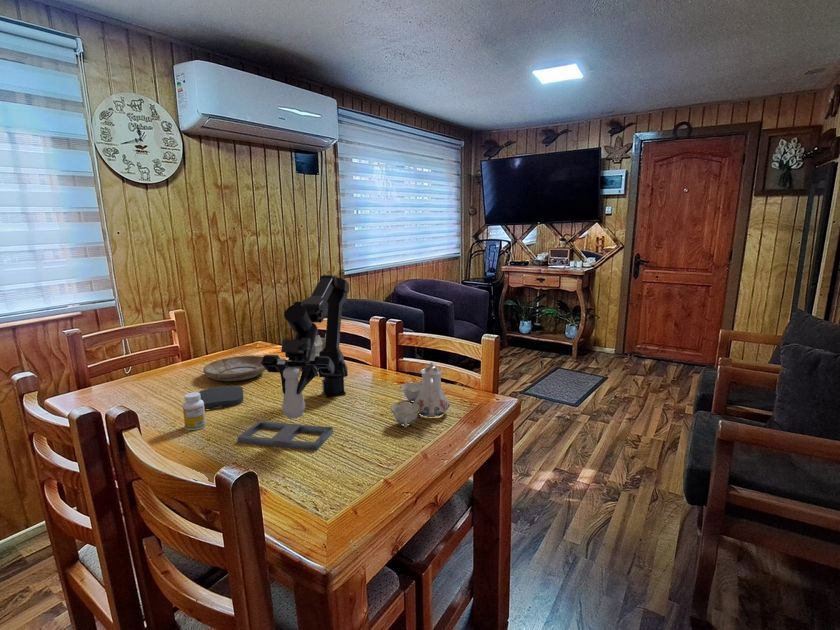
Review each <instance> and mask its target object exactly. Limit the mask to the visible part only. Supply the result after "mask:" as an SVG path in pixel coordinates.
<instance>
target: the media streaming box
mask: <svg viewBox="0 0 840 630" xmlns="http://www.w3.org/2000/svg"><path fill="white" fill-rule="evenodd" d="M243 388H244V387H242V386H238V385H221V386H214V387H209V388H206V389H204V390H202V389H201V391H200V390H199V391H198V392H199V393H200V396H201V398H200V399H201V400H203V402H204V408H205V409H211V410H217V409H216V408H219V409H224V408H225V407H226V408H231V407H235V406H236V407H237V406H238V405H242V404H243V402H244V389H243Z"/></svg>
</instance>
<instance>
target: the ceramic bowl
mask: <svg viewBox="0 0 840 630" xmlns="http://www.w3.org/2000/svg"><path fill="white" fill-rule="evenodd" d="M262 357H263V356H260V355H239V356H232V357H227V358H225V357H224V358H221V359H217V360H214V361H212V362H209V363H207V364H206V365H205V366H203V373H204V375H205V376H206V377H208V378H209V379H213V380H215V381H219V382H238V381H239V382H240V381H245V380H249V379H252V378H253V379H254V378H255V377H257V376H259V375H261V374H262V373H264V372H265V371H267V370H266V369H265V368H264V366H263V365H262V364H261V360H262Z"/></svg>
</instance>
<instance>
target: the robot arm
mask: <svg viewBox="0 0 840 630" xmlns="http://www.w3.org/2000/svg"><path fill="white" fill-rule="evenodd" d="M349 292H350V284H349V282H348V281H347V280H346V279H343V278H341V277H338V276H337V275H335V274H323V275H320V277H319V281H318V283H317V285H316V286H315V288H314V290H313V292H312V293H311V295H310V296H309V297H307V298H305V299H303V300H302V301H294V303H293V304H292V305H290V306H288V307H287V309H285V311H284V313H283V316H284V317H283V318H284V319H285V320H286V322H287V324H288V325H289V327H290V329H291V330H292V331H293V332H294V337H293V339H292V338H291V339H282V342H281V348H280V350H281V351H280V353H284V356H285V358H287V359H285V358H280V356H279V355H278V354H264V355H263V356H261V357H262V360H261V364H262V365H263V366H264V368H265V369H266V370H265V371H266V372H268V373H275V374H276V373H278V374H279V375H280V379H281V389H282V393H283V395H284V394H285V381H286V379H285V378H284V377H283V371H284V370H285V369H286V368H289V367H296V368H298V369H300V368H301V373H300V376H299V380H298V381H299V384H298V387H297V394H298V395H299V394H300V393H301V392H302V393H303V391H304V389H305V388H306V387H307V386H308V385H309V383H310V382H311V381H312V380H314V378H316V377H319V378H323V379H322V380H321V386H322V389H321V390H322V393H323V394H324V395H325V397H328V398H330V397H331V398H332V397H337V396H342V395H343V396H344V395H346V393H347V392H346V391H345V378H346V377H348V373H349V372H348V369H349V368H348V366H347V364H346V362H345V360H344V354H343V352H342V350H341V349H340V339H341V325H342V324H341V323H342V311H343V310H342V308H343V305H344V304H345V302H346V301H347V299H348V294H349ZM326 304H327V310H326V307H325V306H326ZM325 318H326V331H325V334H326V342H325V348H324V349H323V350H322V351H320V353H319V356H316V357H315V360H314V361H310V360H311V356H312V353H314V348H313V347H314V343H315V339H316V336H317V335H319V328H318V326H317V324H315V323H323V321H324V319H325Z"/></svg>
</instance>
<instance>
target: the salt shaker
mask: <svg viewBox="0 0 840 630" xmlns="http://www.w3.org/2000/svg"><path fill="white" fill-rule="evenodd" d="M283 377H284V378H285V379H286V381H285V394H283V399H282V400H283V401H282V407H281V408H282V411H283V413H284V415H285V417H287V419H288V418H289V419H290V420H291V419H298V418H301V417H302V416H303V414H304V411H305V408H306V401H305V400H304V399H305V398H304V396H303V391H302V392H301V393H300V394H299V395H298V394H297V387H298V384H299V381H300V380H299V378H300V377H301V370H300V368H296V367H289V368H286V369H285V370H284V371H283Z"/></svg>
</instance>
